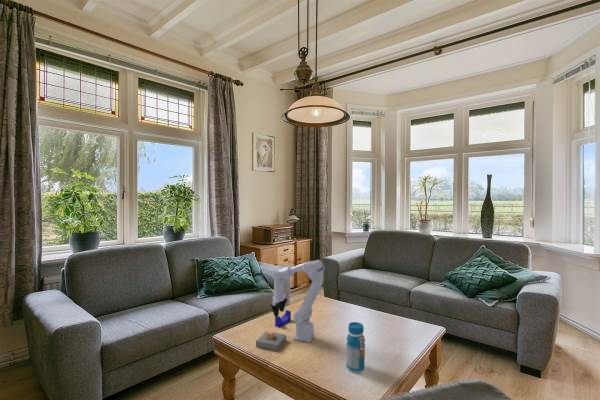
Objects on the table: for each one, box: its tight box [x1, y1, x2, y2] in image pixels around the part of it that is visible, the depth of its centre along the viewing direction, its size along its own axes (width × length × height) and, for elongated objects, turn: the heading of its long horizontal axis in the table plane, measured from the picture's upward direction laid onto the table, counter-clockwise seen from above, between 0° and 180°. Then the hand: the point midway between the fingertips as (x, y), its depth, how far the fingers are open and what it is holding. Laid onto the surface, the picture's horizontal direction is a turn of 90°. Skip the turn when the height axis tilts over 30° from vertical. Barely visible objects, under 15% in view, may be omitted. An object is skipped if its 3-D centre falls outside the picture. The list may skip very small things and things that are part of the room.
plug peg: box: [267, 330, 275, 340], centre depth 165 cm, size 3×3×6 cm
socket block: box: [255, 330, 287, 352], centre depth 165 cm, size 12×12×3 cm
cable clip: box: [274, 309, 292, 328], centre depth 190 cm, size 12×4×6 cm, turn 147°
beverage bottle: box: [345, 321, 366, 374], centre depth 142 cm, size 8×8×20 cm
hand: (279, 313), depth 180 cm, fingers open, 7 cm apart
